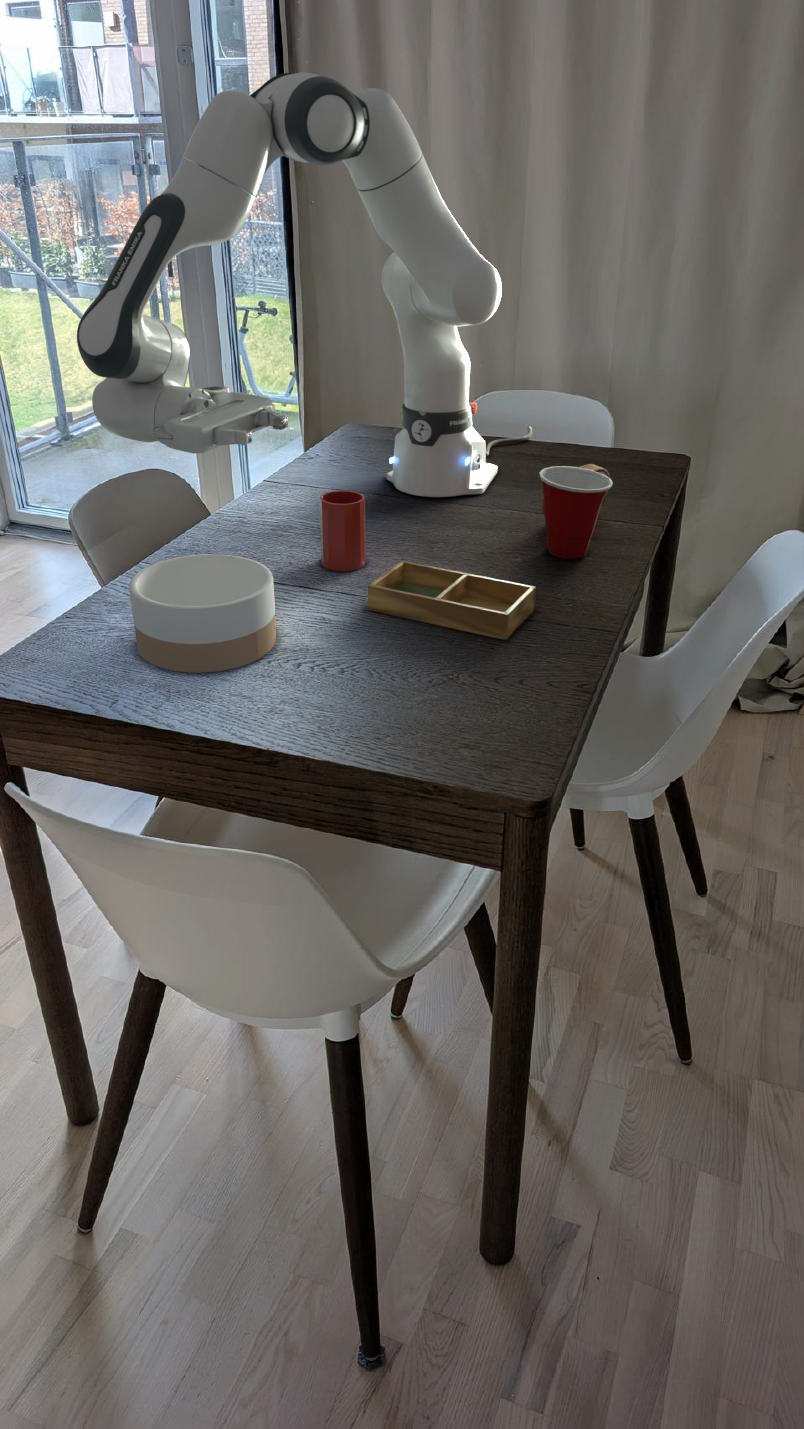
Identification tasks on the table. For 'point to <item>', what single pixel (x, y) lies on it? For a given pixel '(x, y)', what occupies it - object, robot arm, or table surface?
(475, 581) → the caddy
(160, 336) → the robot arm
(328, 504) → the cup
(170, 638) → the bowl
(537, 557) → the table surface
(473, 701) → the table surface
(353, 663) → the table surface
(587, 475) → the plastic cup
